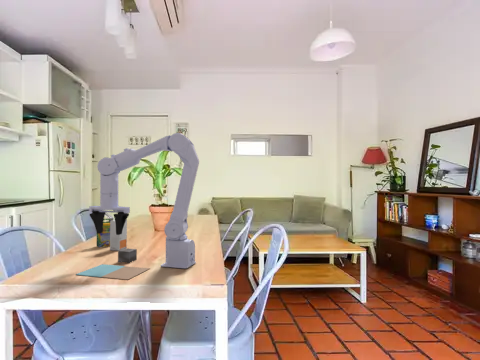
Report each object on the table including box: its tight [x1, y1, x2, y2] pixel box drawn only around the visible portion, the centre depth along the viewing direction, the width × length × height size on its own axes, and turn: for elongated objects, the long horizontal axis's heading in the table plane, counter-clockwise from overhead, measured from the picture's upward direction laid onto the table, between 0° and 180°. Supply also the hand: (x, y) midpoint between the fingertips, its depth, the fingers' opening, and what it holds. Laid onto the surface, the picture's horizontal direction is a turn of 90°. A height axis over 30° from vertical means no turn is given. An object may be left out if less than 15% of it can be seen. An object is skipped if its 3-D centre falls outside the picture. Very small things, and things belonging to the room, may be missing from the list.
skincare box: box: [109, 219, 128, 251], centre depth 136 cm, size 6×4×12 cm
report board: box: [75, 263, 151, 281], centre depth 103 cm, size 18×12×1 cm, turn 75°
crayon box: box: [96, 217, 114, 248], centre depth 142 cm, size 7×3×12 cm, turn 132°
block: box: [117, 248, 138, 264], centre depth 117 cm, size 4×4×4 cm
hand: (109, 233), depth 112 cm, fingers open, 7 cm apart
